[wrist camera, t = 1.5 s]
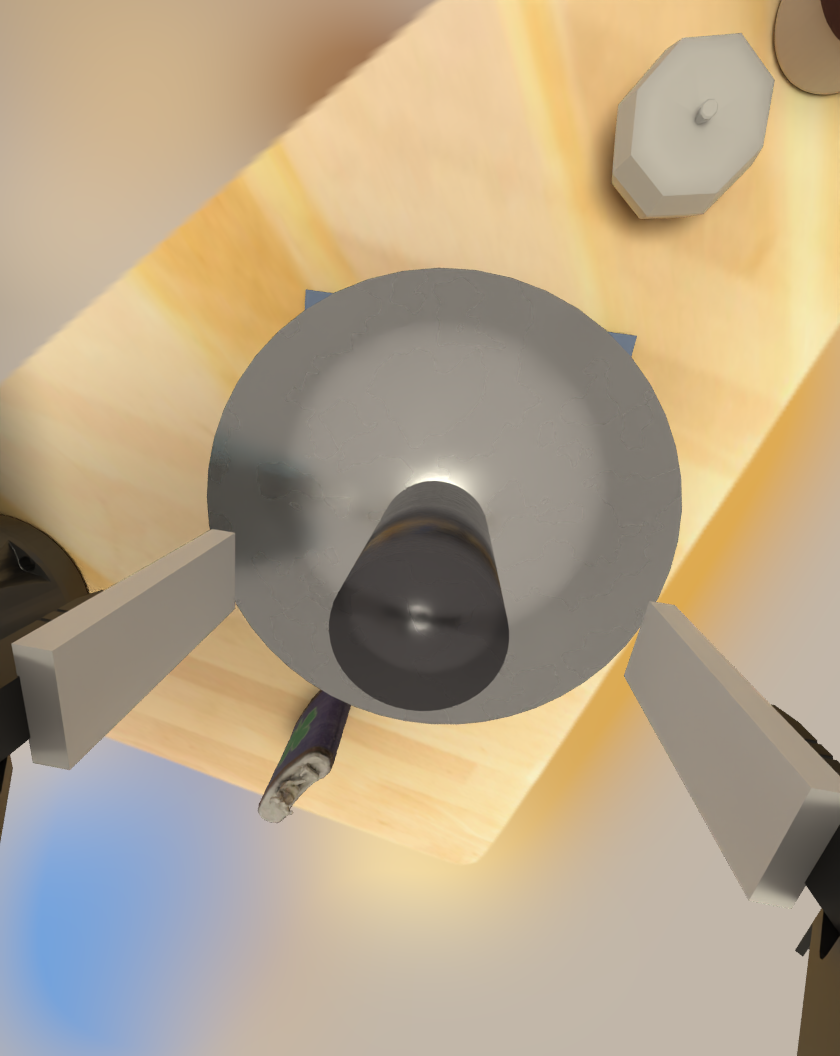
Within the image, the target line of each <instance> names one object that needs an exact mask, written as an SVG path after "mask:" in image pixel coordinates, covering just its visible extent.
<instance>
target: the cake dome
mask: <svg viewBox="0 0 840 1056" xmlns="http://www.w3.org/2000/svg"><path fill="white" fill-rule="evenodd" d="M207 504H208V516H209V527H210V530H211V529H215V530H221V531H227V532H233V533H235V602H236V604H237V606H238V607H239V609H240V611H241V612H242V614H243V615H244V617H245V618H246V620H247V621H248V623H249V624H250V626H251V627H252V628H253V630H254V631H255V632H256V633H257V635H258V636H259V637H260V638H261V639H262V641H263V642H264V643H265V644H266V645H267V647H268V648H269V649H270V650H271V651H272V652H273V653H275V654H276V655H277V656H278V657H279V658H280V659H281V660H282V661H283V662H284V663H285V664H286V665H287V666H288V667H290V668H291V669H292V670H293V671H295V672H296V673H297V674H299V675H300V676H301V677H303V678H304V679H305V680H306V681H308V682H309V683H311V684H313V685H314V686H316V687H318V688H319V689H321V690H323V691H324V692H326V693H327V694H329V695H331V696H333V697H335V698H337V699H339V700H342V701H344V702H346V703H348V704H350V705H352V706H354V707H357V708H360V709H363V710H366V711H369V712H372V713H375V714H378V715H381V716H386V717H390V718H394V719H399V720H403V721H410V722H419V723H427V724H465V723H476V722H485V721H490V720H494V719H499V718H504V717H509V716H512V715H515V714H518V713H522V712H525V711H528V710H531V709H534V708H537V707H539V706H541V705H543V704H545V703H547V702H550V701H552V700H554V699H556V698H558V697H561V696H562V695H564V694H566V693H567V692H569V691H571V690H572V689H574V688H575V687H577V686H579V685H580V684H582V683H584V682H585V681H586V680H588V679H589V678H590V677H592V676H593V675H594V674H595V673H597V672H598V671H599V670H601V669H602V668H603V667H604V666H606V665H607V664H608V663H609V662H610V661H611V660H612V659H613V658H614V657H615V656H616V655H617V654H618V653H619V652H620V651H621V650H622V649H623V648H624V647H625V646H626V645H627V643H628V642H629V641H630V640H631V638H632V637H633V636H634V634H635V633H636V632H637V631H638V629H639V628H640V627H641V624H642V621H643V618H644V615H645V612H646V609H647V606H648V604H649V601H652V602H656V601H657V599H658V597H659V595H660V593H661V590H662V588H663V586H664V583H665V581H666V579H667V576H668V574H669V571H670V568H671V565H672V561H673V557H674V554H675V550H676V546H677V543H678V536H679V528H680V520H681V513H682V496H681V475H680V468H679V462H678V456H677V450H676V445H675V442H674V439H673V436H672V433H671V430H670V427H669V424H668V421H667V418H666V415H665V413H664V411H663V409H662V407H661V405H660V403H659V401H658V399H657V397H656V395H655V392H654V390H653V388H652V386H651V385H650V383H649V382H648V380H647V379H646V377H645V376H644V375H643V373H642V372H641V370H640V369H639V367H638V366H637V365H636V363H635V362H634V360H633V359H632V357H631V356H630V355H629V354H628V353H627V352H626V351H625V350H624V349H623V348H622V347H621V346H620V344H619V343H618V342H617V341H616V340H615V339H614V338H613V337H612V336H611V335H610V334H609V333H608V332H607V331H606V330H605V329H604V328H602V327H601V326H600V325H598V324H597V323H596V322H595V321H593V320H592V319H591V318H589V317H588V316H587V315H586V314H584V313H583V312H582V311H580V310H579V309H578V308H576V307H574V306H572V305H571V304H569V303H567V302H565V301H563V300H562V299H560V298H558V297H556V296H554V295H553V294H551V293H549V292H547V291H545V290H543V289H540V288H537V287H535V286H532V285H529V284H527V283H524V282H521V281H519V280H516V279H513V278H510V277H505V276H501V275H496V274H491V273H486V272H482V271H477V270H465V269H448V268H432V269H421V270H409V271H401V272H397V273H393V274H388V275H384V276H380V277H376V278H372V279H368V280H365V281H363V282H360V283H358V284H355V285H353V286H350V287H348V288H345V289H343V290H340V291H338V292H335V293H333V294H332V295H330V296H328V297H327V298H325V299H323V300H321V301H320V302H318V303H316V304H315V305H313V306H311V307H309V308H308V309H306V310H304V311H303V312H302V313H301V314H299V315H298V316H297V317H296V318H294V319H293V320H292V321H291V322H289V323H288V324H287V325H286V326H284V327H283V328H282V329H281V330H279V331H278V332H277V333H276V335H275V336H274V337H273V338H272V339H271V340H270V341H269V342H268V343H267V344H266V345H265V346H264V347H263V348H262V350H261V351H260V352H259V353H258V354H257V355H256V356H255V358H254V359H253V361H252V362H251V363H250V365H249V366H248V368H247V369H246V371H245V372H244V373H243V375H242V376H241V378H240V379H239V381H238V382H237V384H236V386H235V388H234V390H233V392H232V394H231V396H230V398H229V400H228V402H227V404H226V406H225V408H224V410H223V413H222V416H221V419H220V422H219V425H218V428H217V431H216V434H215V437H214V441H213V447H212V452H211V457H210V463H209V468H208V487H207Z"/></svg>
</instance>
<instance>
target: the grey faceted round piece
mask: <svg viewBox="0 0 840 1056" xmlns="http://www.w3.org/2000/svg"><path fill="white" fill-rule="evenodd" d="M773 86H774V78H773V77H772V76H771V74H770V73H769V71H768V70H767V68H766V67H765V66H764V64H763V63H762V61H761V60H760V59H759V57H758V56H757V54H756V53H755V52H754V50H753V49H752V47H751V46H750V45H749V43H748V42H747V40H746V39H745V38H744V36H743V35H742V33H737V34H725V35H713V36H701V37H689V38H682V39H681V40H679V41H678V42H676V43H675V44H673V45H672V46H670V47H669V48H668V49H666V50H665V51H664V52H663V54H662V55H661V56H660V57H659V58H658V59H657V60H656V62H655V63H654V64H653V65H652V66H651V67H650V69H649V70H648V71H647V72H646V73H645V74H644V76H643V77H642V78H641V79H640V80H639V81H638V83H637V84H636V85H635V86H634V87H633V88H632V89H631V91H630V92H629V93H628V94H627V95H626V96H625V98H624V99H623V100H622V101H621V102H620V103H619V105H618V113H617V122H616V132H615V145H614V158H613V171H612V184H613V186H614V187H615V188H616V190H617V191H618V192H619V193H620V195H621V196H622V197H623V198H624V200H625V201H626V202H627V204H628V205H629V206H630V207H631V209H632V210H633V211H634V212H635V214H636V215H637V216H638V218H639V219H650V218H682V217H689V216H694V215H700V214H704V213H705V212H706V211H707V210H708V209H709V208H710V207H711V206H712V205H713V204H714V203H715V202H716V201H717V200H718V199H719V198H720V196H721V195H722V194H723V193H724V192H725V191H726V190H727V189H728V188H729V187H730V186H731V185H732V184H733V183H734V182H735V181H736V180H737V179H738V178H739V177H740V176H741V175H742V174H743V173H744V172H745V171H746V170H747V169H748V168H749V167H750V166H751V165H752V163H753V162H754V160H755V159H756V157H757V155H758V154H759V152H760V150H761V149H762V147H763V143H764V137H765V132H766V126H767V120H768V115H769V109H770V103H771V97H772V92H773Z"/></svg>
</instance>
